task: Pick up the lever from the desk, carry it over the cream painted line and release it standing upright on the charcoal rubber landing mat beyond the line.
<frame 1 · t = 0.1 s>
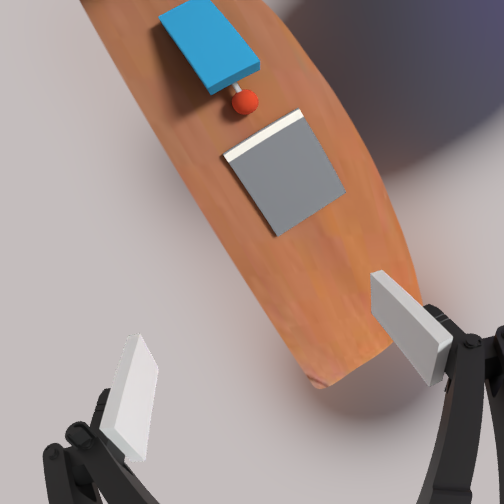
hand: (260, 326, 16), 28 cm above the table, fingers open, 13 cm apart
landing mat: (287, 172, 41), on the table
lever: (215, 58, 34), on the table
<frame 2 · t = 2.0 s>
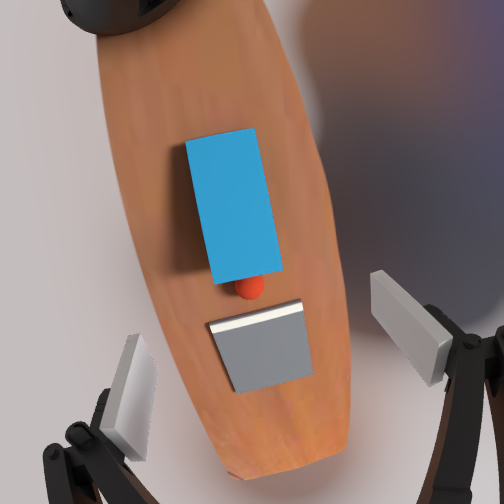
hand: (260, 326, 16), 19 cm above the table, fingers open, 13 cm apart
landing mat: (265, 350, 41), on the table
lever: (235, 217, 34), on the table
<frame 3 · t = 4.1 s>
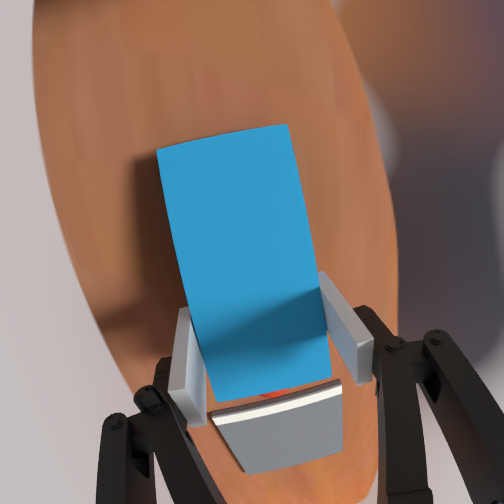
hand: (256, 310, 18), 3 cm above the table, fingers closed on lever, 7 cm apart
landing mat: (286, 435, 28), on the table
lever: (249, 277, 20), on the table, touching gripper
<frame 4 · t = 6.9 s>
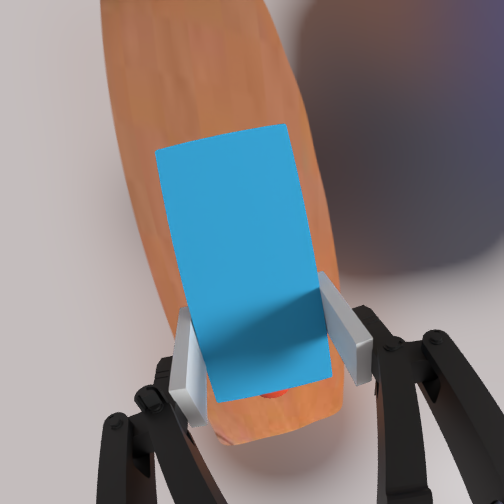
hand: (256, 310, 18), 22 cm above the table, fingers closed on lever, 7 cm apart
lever: (248, 277, 20), point 19 cm above the table, touching gripper
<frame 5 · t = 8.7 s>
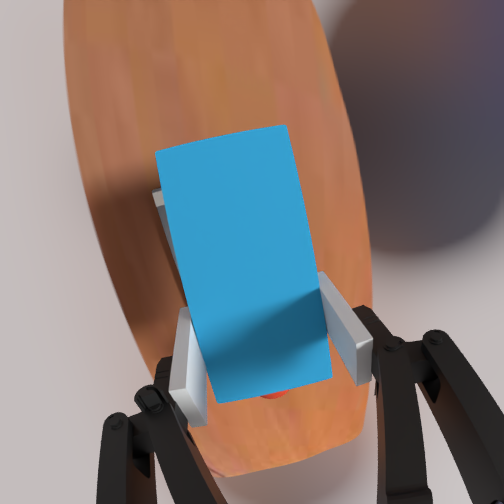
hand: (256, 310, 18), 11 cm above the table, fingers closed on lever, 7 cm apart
landing mat: (240, 246, 27), on the table
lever: (249, 278, 20), point 7 cm above the table, touching gripper
when the fingers open (6 cm above the table, at t = 9.9 s): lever drops 3 cm, resting on landing mat.
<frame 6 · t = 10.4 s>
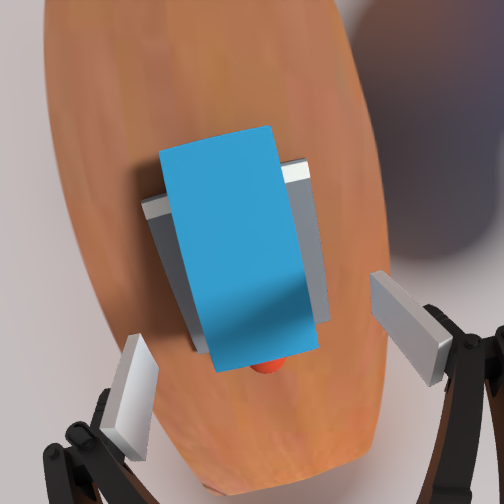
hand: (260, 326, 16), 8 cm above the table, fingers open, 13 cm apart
landing mat: (245, 265, 24), on the table
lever: (243, 261, 23), resting on landing mat
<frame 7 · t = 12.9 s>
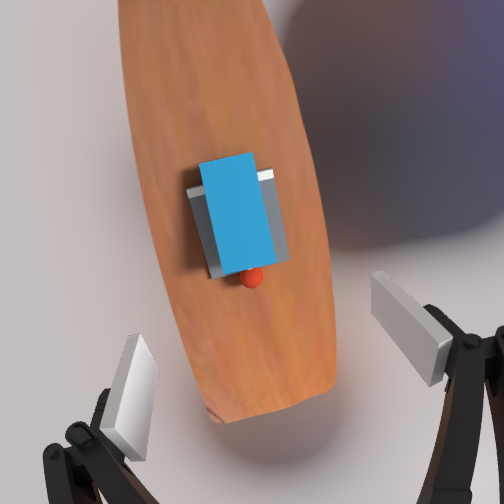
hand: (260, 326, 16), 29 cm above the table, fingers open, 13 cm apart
landing mat: (240, 224, 43), on the table
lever: (239, 222, 43), resting on landing mat
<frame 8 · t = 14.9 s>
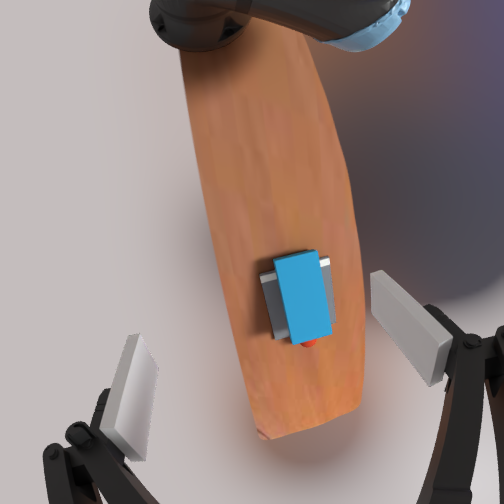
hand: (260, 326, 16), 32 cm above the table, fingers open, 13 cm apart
landing mat: (300, 299, 53), on the table
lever: (300, 298, 52), resting on landing mat
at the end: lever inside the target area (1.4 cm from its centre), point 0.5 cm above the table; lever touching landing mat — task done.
